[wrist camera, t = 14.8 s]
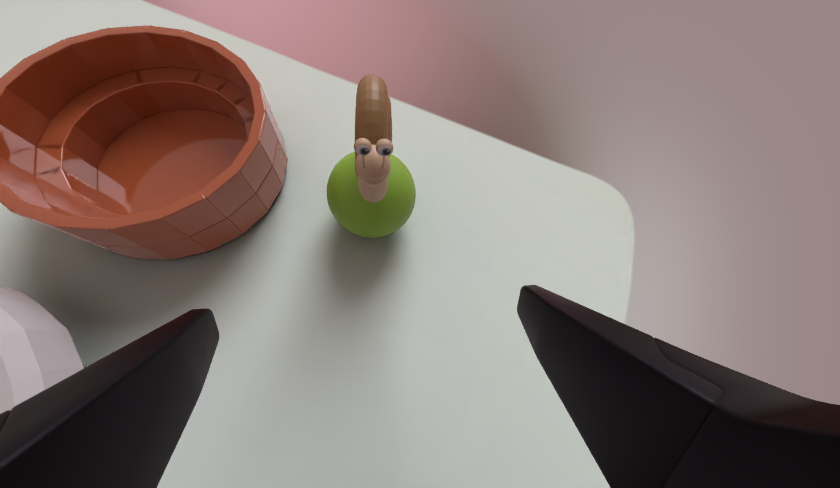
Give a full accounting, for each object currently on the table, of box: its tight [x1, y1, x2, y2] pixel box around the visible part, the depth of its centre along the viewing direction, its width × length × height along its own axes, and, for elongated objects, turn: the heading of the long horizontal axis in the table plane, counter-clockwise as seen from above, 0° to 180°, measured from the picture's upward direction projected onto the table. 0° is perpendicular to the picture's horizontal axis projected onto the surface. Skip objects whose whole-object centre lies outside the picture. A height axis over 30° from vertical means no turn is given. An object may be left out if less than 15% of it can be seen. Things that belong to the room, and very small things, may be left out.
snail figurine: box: [327, 74, 416, 238], centre depth 16 cm, size 5×6×12 cm
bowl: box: [0, 26, 287, 260], centre depth 18 cm, size 13×13×5 cm
